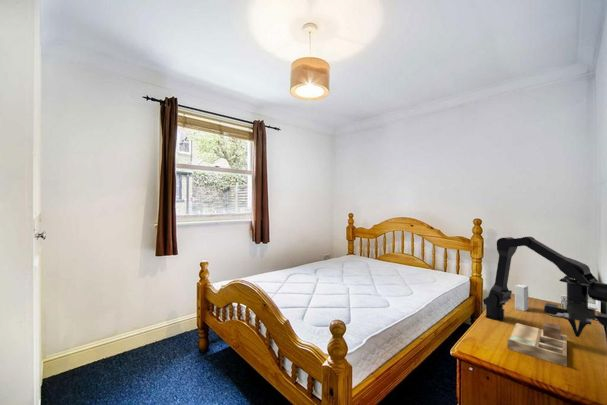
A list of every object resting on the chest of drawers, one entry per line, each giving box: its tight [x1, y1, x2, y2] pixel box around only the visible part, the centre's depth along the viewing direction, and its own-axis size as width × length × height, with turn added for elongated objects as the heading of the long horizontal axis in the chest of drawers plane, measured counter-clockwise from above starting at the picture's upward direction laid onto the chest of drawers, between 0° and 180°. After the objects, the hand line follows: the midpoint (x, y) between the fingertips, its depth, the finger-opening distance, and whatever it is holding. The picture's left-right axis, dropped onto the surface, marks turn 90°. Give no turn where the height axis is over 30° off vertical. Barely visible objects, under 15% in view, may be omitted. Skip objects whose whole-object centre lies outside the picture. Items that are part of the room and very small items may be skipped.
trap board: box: [507, 322, 568, 368], centre depth 104 cm, size 16×25×4 cm, turn 135°
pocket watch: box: [549, 295, 567, 318], centre depth 133 cm, size 8×8×10 cm
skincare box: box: [514, 284, 530, 312], centre depth 141 cm, size 6×4×12 cm
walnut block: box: [542, 321, 562, 340], centre depth 108 cm, size 5×5×4 cm
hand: (577, 336), depth 103 cm, fingers closed
